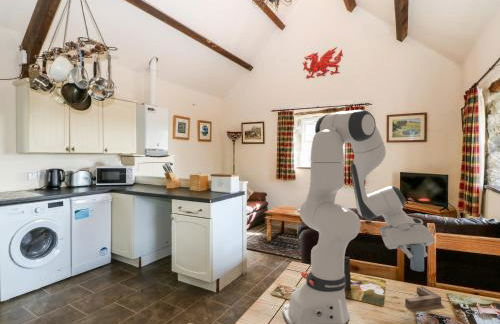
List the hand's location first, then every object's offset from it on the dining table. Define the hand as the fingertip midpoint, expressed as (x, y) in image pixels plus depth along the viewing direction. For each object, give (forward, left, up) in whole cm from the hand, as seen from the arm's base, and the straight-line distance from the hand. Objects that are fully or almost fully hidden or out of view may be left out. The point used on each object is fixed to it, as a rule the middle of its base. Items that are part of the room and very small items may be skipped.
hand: (418, 257), depth 102 cm
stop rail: (-2, 0, -16) cm, 16 cm away
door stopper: (-22, +17, -16) cm, 32 cm away
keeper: (0, +1, -5) cm, 5 cm away
